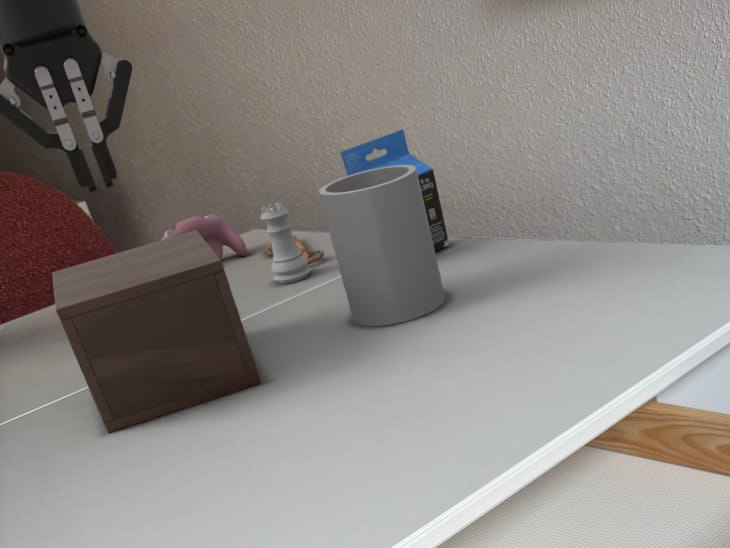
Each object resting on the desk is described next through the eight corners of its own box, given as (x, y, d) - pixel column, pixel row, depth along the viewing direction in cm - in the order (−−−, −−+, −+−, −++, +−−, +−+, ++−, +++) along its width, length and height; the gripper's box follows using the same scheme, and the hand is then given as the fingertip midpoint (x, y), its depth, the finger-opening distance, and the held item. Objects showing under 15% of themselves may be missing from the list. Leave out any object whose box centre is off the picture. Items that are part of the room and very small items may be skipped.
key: (267, 252, 140) (280, 276, 127) (264, 245, 139) (277, 269, 127) (309, 236, 140) (327, 258, 128) (306, 229, 140) (324, 250, 127)
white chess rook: (266, 285, 125) (244, 212, 120) (292, 271, 128) (271, 200, 123) (294, 284, 122) (272, 210, 118) (320, 270, 125) (299, 198, 121)
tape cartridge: (390, 273, 118) (360, 151, 111) (368, 270, 121) (338, 152, 114) (451, 245, 122) (425, 127, 115) (429, 244, 125) (402, 128, 118)
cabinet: (98, 383, 107) (51, 272, 101) (234, 340, 109) (196, 229, 103) (107, 433, 94) (55, 309, 88) (261, 383, 96) (220, 259, 90)
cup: (444, 313, 102) (413, 178, 95) (349, 333, 103) (312, 201, 96) (445, 285, 109) (417, 158, 103) (357, 304, 110) (324, 180, 104)
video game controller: (242, 264, 143) (215, 213, 142) (252, 250, 139) (224, 198, 138) (176, 290, 138) (147, 238, 137) (184, 276, 134) (155, 223, 133)
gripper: (96, -42, 97) (167, 164, 106) (-58, -5, 94) (29, 203, 104) (101, -46, 91) (176, 173, 100) (-63, -6, 88) (29, 215, 98)
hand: (101, 188), depth 102 cm, fingers closed
